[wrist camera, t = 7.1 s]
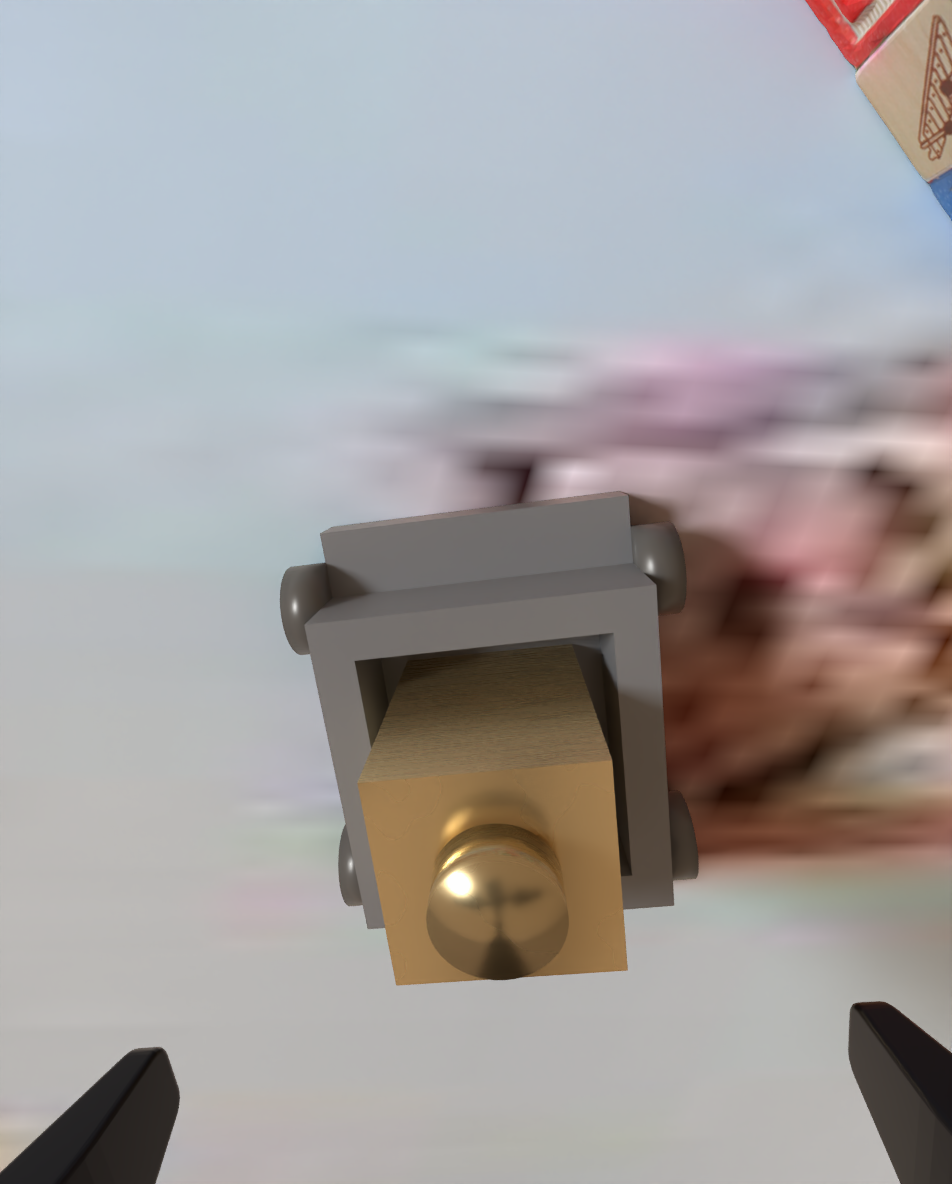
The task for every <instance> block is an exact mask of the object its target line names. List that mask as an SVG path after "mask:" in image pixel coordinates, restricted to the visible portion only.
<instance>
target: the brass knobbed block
mask: <svg viewBox="0 0 952 1184" xmlns="http://www.w3.org/2000/svg"><path fill="white" fill-rule="evenodd" d="M357 784H358V789H359V794H360V799H361V805H362V810H363V815H364V820H365V825H366V831H367V836H368V841H369V846H370V851H371V856H372V862H373V867H374V872H375V877H376V882H377V888H378V893H379V898H380V903H381V908H382V913H383V919H384V924H385V929H386V934H387V939H388V945H389V950H390V955H391V960H392V965H393V970H394V976H395V981H396V985H411V984H426V983H441V982H457V981H472V980H488V979H490V980H509V979H516V978H520V977H534V976H549V975H564V974H580V973H595V972H611V971H626V970H628V968H627V955H626V941H625V927H624V914H623V900H622V887H621V873H620V859H619V846H618V832H617V819H616V805H615V791H614V778H613V764H612V758H611V755H610V753H609V750H608V747H607V744H606V741H605V738H604V735H603V732H602V730H601V727H600V724H599V721H598V718H597V715H596V712H595V709H594V707H593V704H592V701H591V698H590V695H589V692H588V689H587V687H586V684H585V681H584V678H583V675H582V672H581V669H580V666H579V664H578V661H577V658H576V655H575V652H574V649H573V646H572V644H565V645H555V646H545V647H536V648H526V649H516V650H506V651H496V652H487V653H477V654H467V655H457V656H448V657H438V658H428V659H418V660H408V661H407V663H406V666H405V668H404V671H403V673H402V675H401V678H400V680H399V683H398V685H397V688H396V690H395V692H394V695H393V697H392V700H391V702H390V705H389V707H388V710H387V712H386V714H385V717H384V719H383V722H382V724H381V727H380V729H379V731H378V734H377V736H376V739H375V741H374V744H373V746H372V748H371V751H370V753H369V756H368V758H367V761H366V763H365V766H364V768H363V770H362V773H361V775H360V778H359V780H358V783H357Z"/></svg>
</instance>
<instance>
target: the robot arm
mask: <svg viewBox="0 0 952 1184" xmlns="http://www.w3.org/2000/svg"><path fill="white" fill-rule="evenodd" d="M848 1052H849V1060H850V1064H851V1068H852V1071H853V1074H854V1076H855V1079H856V1081H857V1083H858V1086H859V1088H860V1090H861V1093H862V1095H863V1097H864V1100H865V1102H866V1104H867V1107H868V1109H869V1111H870V1114H871V1116H872V1118H873V1121H874V1123H875V1125H876V1128H877V1130H878V1132H879V1134H880V1137H881V1139H882V1141H883V1144H884V1146H885V1148H886V1151H887V1153H888V1155H889V1158H890V1160H891V1162H892V1165H893V1167H894V1169H895V1172H896V1174H897V1176H898V1179H899V1181H900V1183H901V1184H952V1053H951V1052H950V1051H949V1050H947V1049H946V1048H945V1047H944V1046H942V1045H941V1044H940V1043H939V1042H937V1041H936V1040H935V1039H934V1038H932V1037H931V1036H930V1035H929V1034H927V1033H926V1032H925V1031H924V1030H922V1029H921V1028H920V1027H919V1026H917V1025H916V1024H915V1023H914V1022H912V1021H911V1020H910V1019H909V1018H907V1017H906V1016H905V1015H904V1014H902V1013H901V1012H900V1011H899V1010H897V1009H896V1008H895V1007H893V1006H892V1005H890V1004H888V1003H886V1002H881V1001H877V1002H861V1003H855V1004H853V1005H852V1007H851V1009H850V1020H849V1047H848ZM179 1101H180V1095H179V1088H178V1085H177V1082H176V1079H175V1076H174V1073H173V1070H172V1067H171V1064H170V1061H169V1058H168V1055H167V1053H166V1051H165V1050H164V1049H163V1048H161V1047H151V1048H138V1049H134V1050H132V1051H130V1052H129V1053H127V1054H126V1055H125V1056H124V1057H123V1058H122V1059H121V1060H120V1061H119V1062H117V1063H116V1064H115V1065H114V1066H113V1067H112V1068H111V1069H110V1070H109V1071H108V1072H107V1073H106V1074H105V1075H104V1076H103V1077H101V1078H100V1079H99V1080H98V1081H97V1082H96V1083H95V1084H94V1085H93V1086H92V1087H91V1088H90V1089H89V1090H88V1091H87V1092H86V1093H84V1094H83V1095H82V1096H81V1097H80V1098H79V1099H78V1100H77V1101H76V1102H75V1103H74V1104H73V1105H72V1106H71V1107H70V1108H68V1109H67V1110H66V1111H65V1112H64V1113H63V1114H62V1115H61V1116H60V1117H59V1118H58V1119H57V1120H56V1121H55V1122H54V1123H53V1124H51V1125H50V1126H49V1127H48V1128H47V1129H46V1130H45V1131H44V1132H43V1133H42V1134H41V1135H40V1136H39V1137H38V1138H37V1139H35V1140H34V1141H33V1142H32V1143H31V1144H30V1145H29V1146H28V1147H27V1148H26V1149H25V1150H24V1151H23V1152H22V1153H21V1154H20V1155H18V1156H17V1157H16V1158H15V1159H14V1160H13V1161H12V1162H11V1163H10V1164H9V1165H8V1166H7V1167H6V1168H5V1169H4V1170H2V1171H1V1172H0V1184H155V1183H156V1180H157V1177H158V1174H159V1171H160V1167H161V1164H162V1161H163V1158H164V1155H165V1151H166V1148H167V1145H168V1142H169V1139H170V1136H171V1132H172V1129H173V1126H174V1123H175V1120H176V1116H177V1113H178V1108H179Z"/></svg>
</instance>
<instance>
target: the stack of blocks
mask: <svg viewBox="0 0 952 1184" xmlns="http://www.w3.org/2000/svg"><path fill="white" fill-rule="evenodd" d="M805 1H806V2H807V3H808V5H809V6H810V8H811V9H812V11H813V12H814V14H815V15H816V17H817V18H818V19H819V21H820V22H821V23H822V24H823V25H824V26H825V27H826V29H827V31H828V33H829V35H830V37H831V38H832V40H833V41H834V42H835V44H836V45H837V46H838V48H839V49H840V51H841V52H842V54H843V55H844V57H845V58H846V59H847V60H848V61H849V62H850V63H851V64H852V65H854V66H855V68H856V74H855V77H856V82H857V84H858V85H859V87H860V88H861V90H862V91H863V92H864V94H865V95H866V97H867V98H868V100H869V101H870V103H871V104H872V105H873V107H874V108H875V110H876V111H877V113H878V114H879V115H880V117H881V118H882V120H883V121H884V123H885V124H886V125H887V127H888V128H889V130H890V131H891V133H892V134H893V136H894V137H895V139H896V140H897V142H898V143H899V145H900V146H901V148H902V149H903V151H904V152H905V154H906V155H907V157H908V158H909V160H910V161H911V162H912V164H913V165H914V167H915V168H916V170H917V171H918V172H919V174H920V175H921V176H922V178H923V179H924V180H925V181H927V182H928V183H929V184H930V186H931V188H932V191H933V193H934V195H935V196H936V198H937V200H938V201H939V203H940V204H941V205H942V207H943V208H944V210H945V211H946V212H947V214H948V215H949V216H950V218H951V220H952V0H805Z"/></svg>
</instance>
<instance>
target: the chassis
mask: <svg viewBox="0 0 952 1184" xmlns="http://www.w3.org/2000/svg"><path fill="white" fill-rule="evenodd" d="M320 536H321V541H322V546H323V551H324V556H325V562H326V563H319V564H311V565H303V566H294V567H290V568H288V569H287V570H286V572H285V574H284V576H283V579H282V583H281V590H280V609H281V618H282V623H283V627H284V631H285V634H286V637H287V640H288V642H289V644H290V646H291V647H292V649H293V650H294V651H295V652H296V653H297V654H299V655H306V654H310V655H311V660H312V664H313V669H314V674H315V679H316V683H317V688H318V693H319V698H320V703H321V707H322V712H323V717H324V722H325V727H326V731H327V736H328V741H329V746H330V750H331V755H332V760H333V765H334V770H335V774H336V779H337V784H338V789H339V794H340V798H341V803H342V808H343V813H344V817H345V822H346V824H345V826H344V829H343V832H342V835H341V840H340V847H339V862H338V868H339V882H340V889H341V893H342V897H343V899H344V902H345V903H346V904H347V905H348V906H359V905H363V908H364V913H365V918H366V923H367V928H368V929H375V928H385V924H384V919H383V913H382V908H381V903H380V898H379V893H378V888H377V882H376V877H375V872H374V867H373V862H372V856H371V851H370V846H369V841H368V836H367V831H366V825H365V820H364V815H363V810H362V805H361V799H360V794H359V789H358V784H357V783H358V780H359V778H360V775H361V773H362V770H363V768H364V766H365V763H366V761H367V758H368V756H369V753H370V751H371V748H372V746H373V744H374V741H375V739H376V736H377V734H378V731H379V729H380V727H381V724H382V722H383V719H384V717H385V714H386V712H387V710H388V707H389V705H390V702H391V700H392V697H393V695H394V692H395V690H396V688H397V685H398V683H399V680H400V678H401V675H402V673H403V671H404V668H405V666H406V663H407V661H408V660H418V659H428V658H438V657H448V656H457V655H467V654H477V653H487V652H496V651H506V650H516V649H526V648H536V647H545V646H555V645H565V644H572V646H573V649H574V652H575V655H576V658H577V661H578V664H579V666H580V669H581V672H582V675H583V678H584V681H585V684H586V687H587V689H588V692H589V695H590V698H591V701H592V704H593V707H594V709H595V712H596V715H597V718H598V721H599V724H600V727H601V730H602V732H603V735H604V738H605V741H606V744H607V747H608V750H609V753H610V755H611V758H612V764H613V778H614V791H615V805H616V819H617V832H618V846H619V859H620V873H621V887H622V900H623V909H636V908H649V907H662V906H674V894H673V880H685V879H696V878H697V875H698V867H699V866H698V851H697V844H696V838H695V833H694V828H693V824H692V820H691V816H690V813H689V810H688V807H687V804H686V802H685V800H684V798H683V796H682V794H681V793H680V792H679V791H678V790H676V791H668V786H667V768H666V750H665V732H664V714H663V696H662V678H661V660H660V642H659V624H658V616H660V615H670V614H679V613H681V612H682V610H683V608H684V605H685V599H686V567H685V559H684V554H683V549H682V545H681V541H680V538H679V535H678V532H677V530H676V528H675V527H674V525H673V524H672V523H671V522H669V521H668V522H659V523H651V524H643V525H634V526H630V511H629V496H628V495H627V494H624V493H622V492H620V491H616V492H608V493H600V494H592V495H584V496H576V497H568V498H560V499H552V500H544V501H536V502H528V503H520V504H512V505H504V506H496V507H488V508H480V509H472V510H464V511H456V512H448V513H440V514H432V515H424V516H416V517H408V518H400V519H392V520H384V521H376V522H368V523H360V524H352V525H344V526H336V527H331V528H329V529H328V530H326V531H324V532H322V533H320Z"/></svg>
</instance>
